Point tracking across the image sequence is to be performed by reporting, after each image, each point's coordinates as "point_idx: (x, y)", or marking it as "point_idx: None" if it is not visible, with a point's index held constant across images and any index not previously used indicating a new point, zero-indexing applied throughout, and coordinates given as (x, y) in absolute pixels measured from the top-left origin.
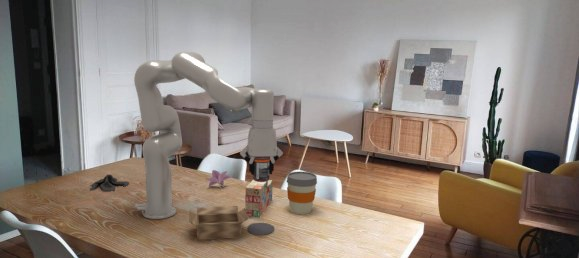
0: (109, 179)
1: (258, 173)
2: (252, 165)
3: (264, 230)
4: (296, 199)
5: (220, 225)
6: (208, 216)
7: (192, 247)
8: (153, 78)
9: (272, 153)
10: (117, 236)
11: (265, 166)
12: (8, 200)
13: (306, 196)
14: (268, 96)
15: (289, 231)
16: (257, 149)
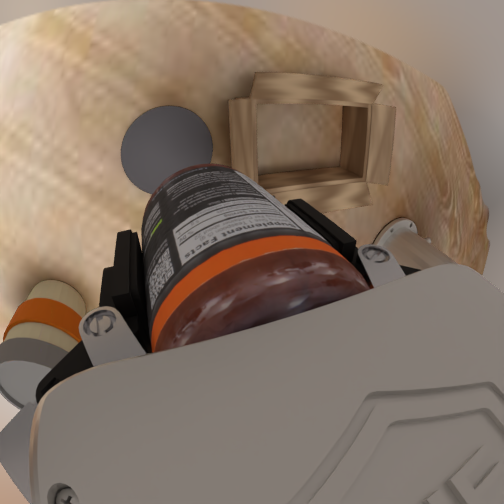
0: None
1: (254, 184)
2: (343, 234)
3: (155, 132)
4: (53, 307)
5: (314, 98)
6: (337, 178)
7: (355, 62)
8: None
9: (98, 416)
10: (446, 149)
11: (199, 221)
12: (483, 266)
13: (21, 313)
14: None
15: (73, 144)
16: (483, 364)
